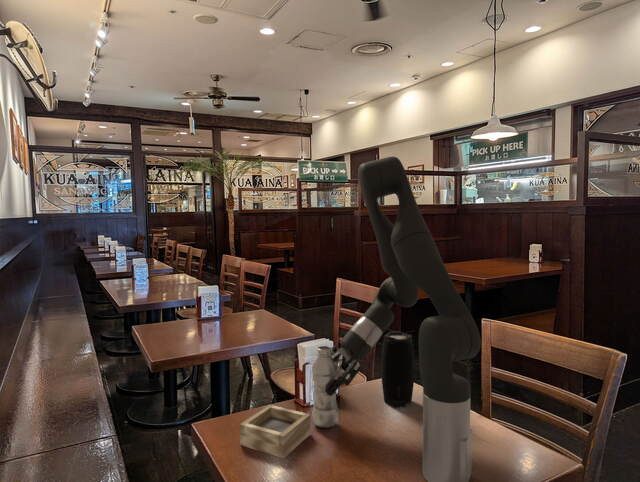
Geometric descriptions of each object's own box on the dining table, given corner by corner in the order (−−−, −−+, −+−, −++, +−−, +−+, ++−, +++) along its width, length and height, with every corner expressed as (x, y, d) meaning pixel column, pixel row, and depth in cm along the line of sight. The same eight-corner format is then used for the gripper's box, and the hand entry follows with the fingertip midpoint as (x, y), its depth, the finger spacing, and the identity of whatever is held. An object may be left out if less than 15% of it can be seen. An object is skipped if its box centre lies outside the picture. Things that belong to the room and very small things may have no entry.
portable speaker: (386, 393, 131) (387, 329, 130) (417, 399, 126) (418, 333, 125) (377, 404, 123) (377, 336, 122) (409, 411, 119) (409, 340, 118)
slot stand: (310, 434, 106) (310, 414, 106) (283, 458, 96) (283, 436, 95) (269, 423, 112) (269, 404, 112) (240, 445, 101) (240, 424, 101)
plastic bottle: (336, 432, 107) (336, 352, 106) (309, 429, 109) (309, 351, 108) (340, 420, 114) (340, 345, 112) (315, 418, 115) (314, 343, 114)
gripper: (341, 322, 119) (302, 369, 116) (365, 336, 106) (321, 389, 103) (358, 339, 122) (320, 385, 118) (384, 354, 108) (342, 407, 105)
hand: (321, 387), depth 110 cm, fingers open, 8 cm apart
